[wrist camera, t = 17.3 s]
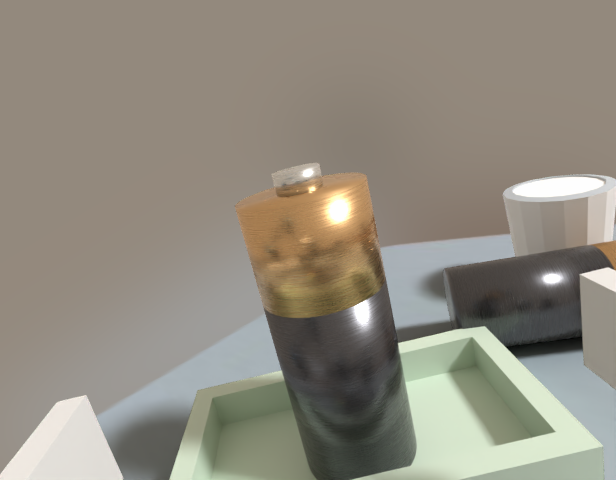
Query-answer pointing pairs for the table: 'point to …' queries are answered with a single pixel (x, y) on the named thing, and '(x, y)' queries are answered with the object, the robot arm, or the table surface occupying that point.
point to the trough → (425, 414)
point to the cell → (331, 320)
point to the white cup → (560, 212)
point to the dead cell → (525, 293)
